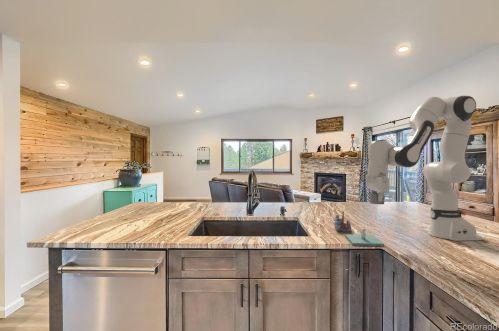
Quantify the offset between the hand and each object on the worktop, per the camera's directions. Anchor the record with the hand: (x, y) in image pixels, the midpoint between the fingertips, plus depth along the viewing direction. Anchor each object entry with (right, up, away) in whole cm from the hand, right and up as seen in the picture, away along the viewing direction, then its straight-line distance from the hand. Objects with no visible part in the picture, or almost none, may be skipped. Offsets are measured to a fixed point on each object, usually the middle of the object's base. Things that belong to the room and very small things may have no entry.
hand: (376, 200), depth 129 cm
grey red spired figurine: (-10, -20, +20) cm, 30 cm away
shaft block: (-7, -20, 0) cm, 22 cm away
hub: (0, -2, 0) cm, 2 cm away
